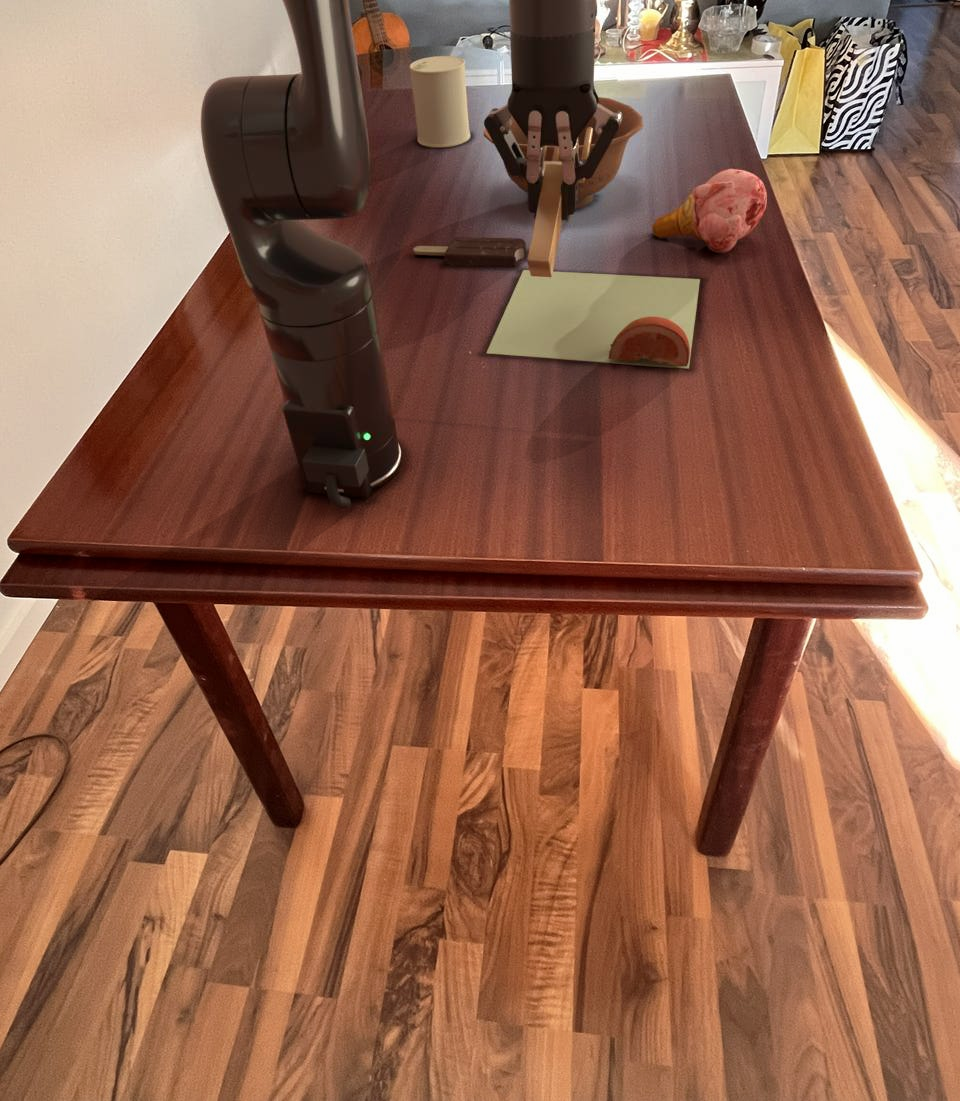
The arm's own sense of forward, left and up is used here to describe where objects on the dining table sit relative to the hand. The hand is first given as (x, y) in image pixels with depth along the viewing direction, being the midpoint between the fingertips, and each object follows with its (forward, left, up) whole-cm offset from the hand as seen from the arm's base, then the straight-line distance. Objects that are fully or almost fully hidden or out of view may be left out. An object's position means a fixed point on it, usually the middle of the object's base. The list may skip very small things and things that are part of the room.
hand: (553, 216), depth 83 cm
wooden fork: (+1, 0, +1) cm, 1 cm away
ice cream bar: (+17, +14, -13) cm, 26 cm away
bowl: (+37, +5, -13) cm, 40 cm away
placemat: (+4, -5, -13) cm, 14 cm away
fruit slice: (-3, -11, -9) cm, 15 cm away
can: (+61, +30, -13) cm, 70 cm away
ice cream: (+23, -16, -13) cm, 31 cm away
